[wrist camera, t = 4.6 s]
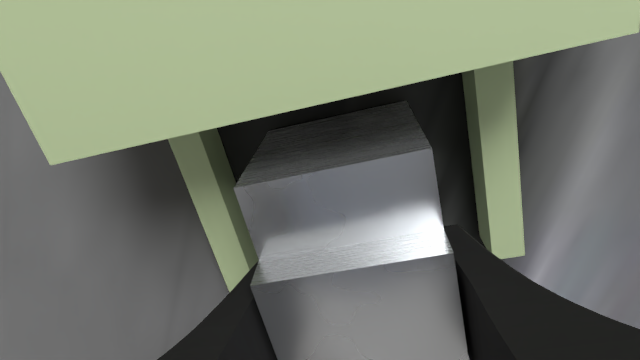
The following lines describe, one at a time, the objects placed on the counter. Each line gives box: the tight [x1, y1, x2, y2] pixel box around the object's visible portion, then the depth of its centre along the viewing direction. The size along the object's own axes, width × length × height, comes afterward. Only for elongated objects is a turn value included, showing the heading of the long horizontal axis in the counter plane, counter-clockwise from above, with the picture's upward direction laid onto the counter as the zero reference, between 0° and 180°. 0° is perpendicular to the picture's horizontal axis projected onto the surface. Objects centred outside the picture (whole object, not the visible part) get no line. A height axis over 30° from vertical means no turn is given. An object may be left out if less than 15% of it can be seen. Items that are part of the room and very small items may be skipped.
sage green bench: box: [0, 0, 640, 292], centre depth 11 cm, size 11×12×5 cm
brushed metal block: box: [234, 101, 469, 360], centre depth 12 cm, size 7×4×6 cm, turn 14°
